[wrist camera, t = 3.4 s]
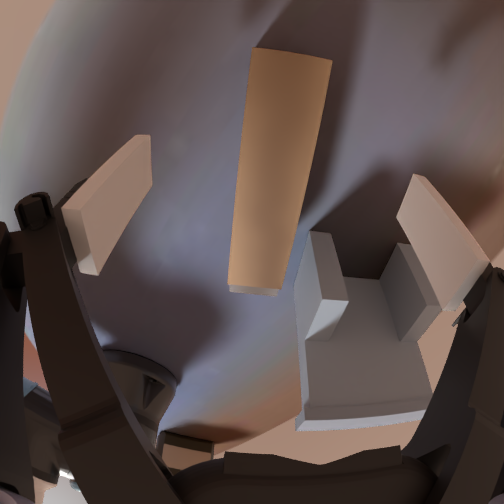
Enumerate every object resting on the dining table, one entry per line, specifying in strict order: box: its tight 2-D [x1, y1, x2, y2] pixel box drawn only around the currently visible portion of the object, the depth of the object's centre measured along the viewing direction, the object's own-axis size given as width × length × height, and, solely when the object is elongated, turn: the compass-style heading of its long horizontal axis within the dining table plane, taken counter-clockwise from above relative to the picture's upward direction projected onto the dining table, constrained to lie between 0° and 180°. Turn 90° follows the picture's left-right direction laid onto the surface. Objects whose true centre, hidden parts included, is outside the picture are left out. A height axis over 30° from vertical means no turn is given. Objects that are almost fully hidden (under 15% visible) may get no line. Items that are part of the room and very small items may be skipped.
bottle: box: [156, 431, 214, 475], centre depth 63 cm, size 8×16×25 cm, turn 66°
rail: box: [227, 47, 333, 296], centre depth 20 cm, size 4×17×6 cm, turn 173°
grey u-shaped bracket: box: [293, 231, 442, 431], centre depth 23 cm, size 12×7×15 cm, turn 83°
